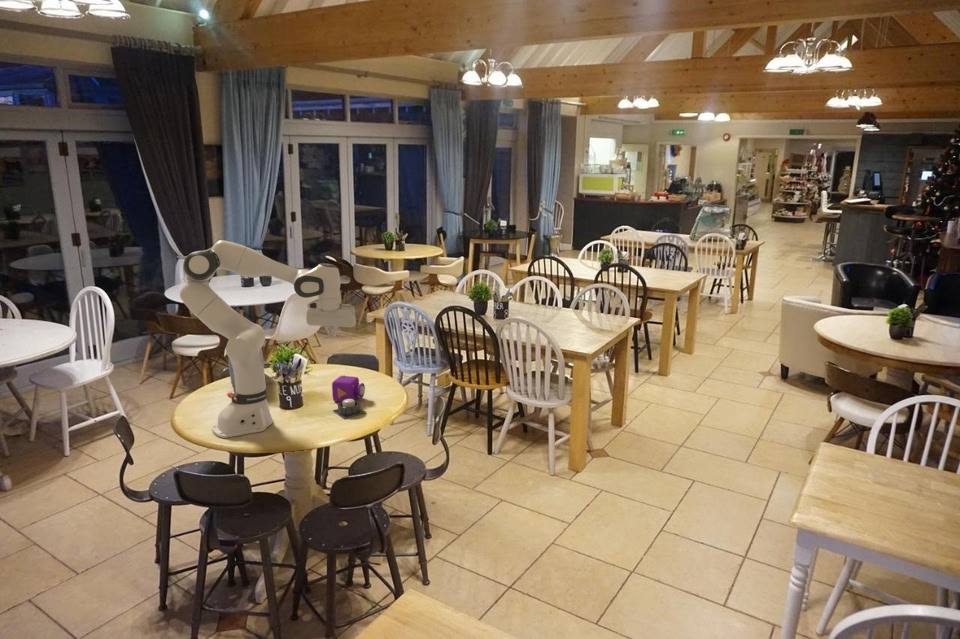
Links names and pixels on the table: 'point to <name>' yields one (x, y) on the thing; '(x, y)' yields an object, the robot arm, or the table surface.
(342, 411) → the grey flanged ring
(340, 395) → the toy camera
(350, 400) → the cap
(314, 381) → the table surface
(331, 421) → the table surface
